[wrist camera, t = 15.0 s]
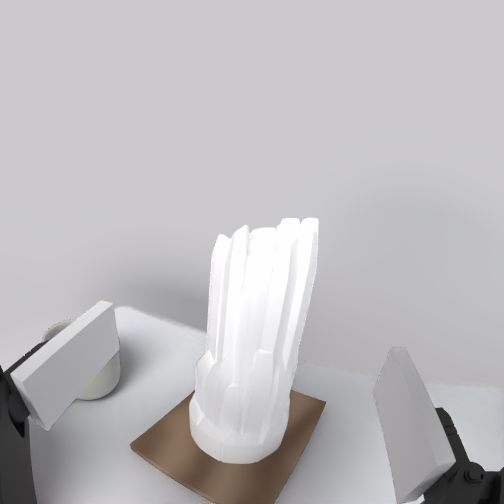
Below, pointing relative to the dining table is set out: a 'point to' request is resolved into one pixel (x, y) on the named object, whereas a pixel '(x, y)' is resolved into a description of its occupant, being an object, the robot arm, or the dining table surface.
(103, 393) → the teacup
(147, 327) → the dining table surface
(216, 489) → the board
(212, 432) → the decorative vase
